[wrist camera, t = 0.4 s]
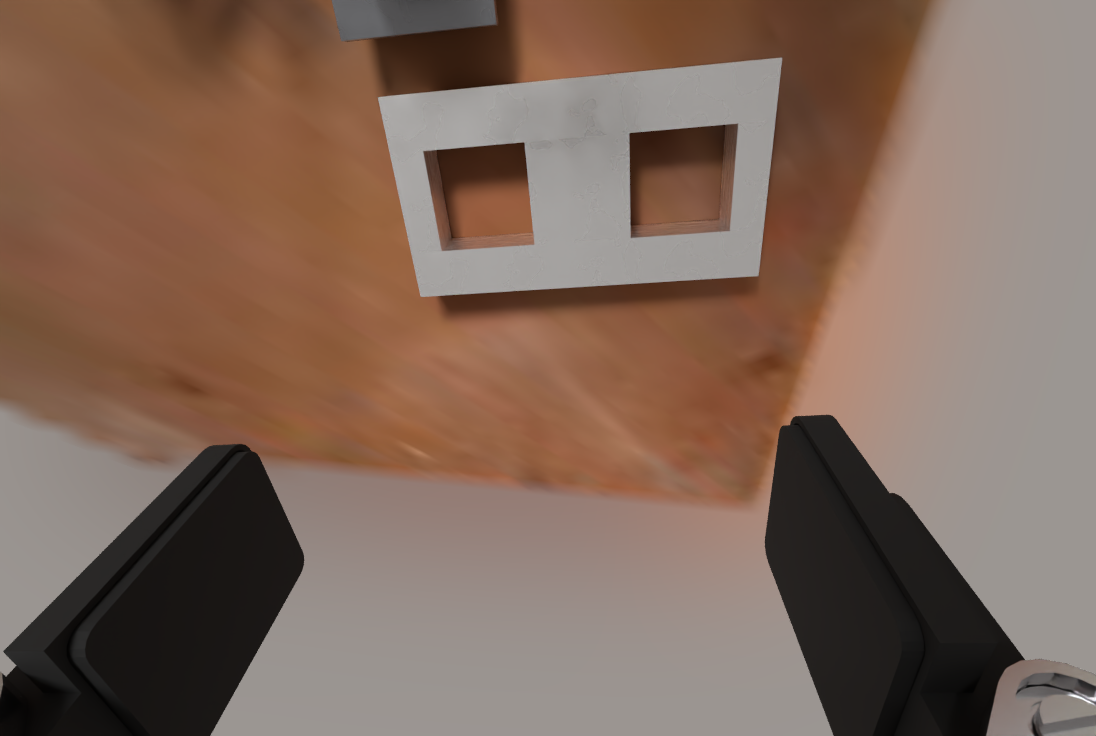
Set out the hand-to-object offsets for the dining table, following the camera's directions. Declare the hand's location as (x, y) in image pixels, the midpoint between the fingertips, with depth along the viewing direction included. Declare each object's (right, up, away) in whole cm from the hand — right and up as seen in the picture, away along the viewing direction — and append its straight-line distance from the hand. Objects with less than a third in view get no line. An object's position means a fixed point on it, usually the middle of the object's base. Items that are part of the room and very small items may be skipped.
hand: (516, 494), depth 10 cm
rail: (+3, +14, +25) cm, 29 cm away
